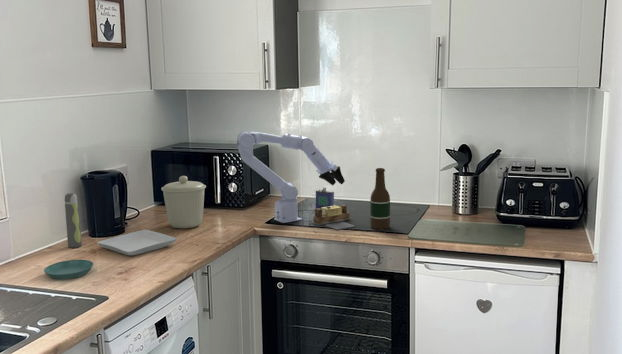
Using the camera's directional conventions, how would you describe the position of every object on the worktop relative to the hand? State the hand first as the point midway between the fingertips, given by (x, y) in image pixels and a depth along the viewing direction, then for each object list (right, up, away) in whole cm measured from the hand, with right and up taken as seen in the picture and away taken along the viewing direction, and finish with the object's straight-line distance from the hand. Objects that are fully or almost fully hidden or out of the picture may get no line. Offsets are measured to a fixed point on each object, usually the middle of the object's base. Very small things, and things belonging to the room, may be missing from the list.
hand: (338, 183), depth 262 cm
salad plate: (-75, -24, -39) cm, 88 cm away
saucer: (-89, -29, -67) cm, 115 cm away
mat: (0, -17, -15) cm, 23 cm away
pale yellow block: (-3, -13, -7) cm, 15 cm away
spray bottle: (-100, -23, -36) cm, 108 cm away
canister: (-64, -18, -9) cm, 67 cm away
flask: (-6, -13, +14) cm, 20 cm away
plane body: (-3, -16, -6) cm, 17 cm away
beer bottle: (+16, -18, -18) cm, 30 cm away
